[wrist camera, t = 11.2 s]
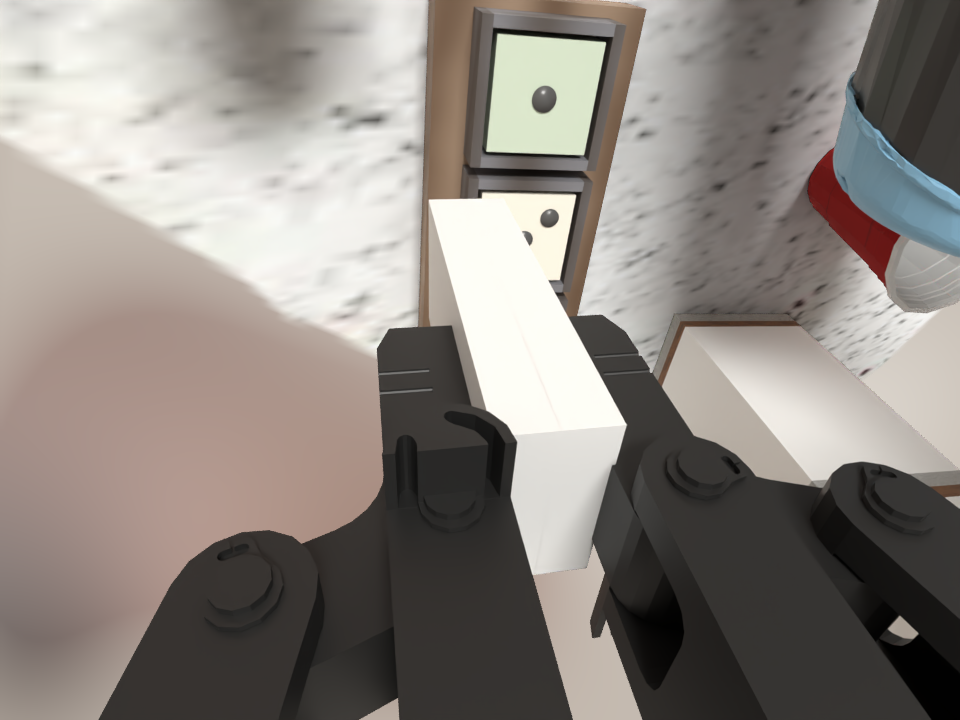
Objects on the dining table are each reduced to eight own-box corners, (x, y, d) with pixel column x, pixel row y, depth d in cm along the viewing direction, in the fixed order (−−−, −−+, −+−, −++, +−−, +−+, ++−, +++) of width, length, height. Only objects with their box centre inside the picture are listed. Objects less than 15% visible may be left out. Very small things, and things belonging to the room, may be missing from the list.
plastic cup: (875, 235, 49) (999, 310, 40) (760, 243, 48) (861, 323, 38) (938, 99, 43) (1105, 150, 33) (807, 103, 41) (943, 158, 32)
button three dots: (566, 184, 38) (576, 196, 36) (551, 266, 41) (559, 280, 40) (476, 181, 36) (482, 194, 35) (469, 266, 40) (474, 281, 38)
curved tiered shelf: (640, 405, 57) (912, 858, 29) (674, 313, 50) (1059, 781, 23) (742, 401, 59) (1081, 816, 32) (787, 313, 53) (1256, 737, 26)
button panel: (626, 3, 35) (666, 15, 31) (554, 349, 50) (574, 390, 46) (429, -16, 33) (441, -5, 28) (417, 354, 48) (424, 397, 44)
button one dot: (593, 36, 33) (606, 42, 31) (573, 144, 36) (584, 155, 34) (490, 28, 31) (498, 34, 30) (480, 141, 35) (486, 152, 33)
